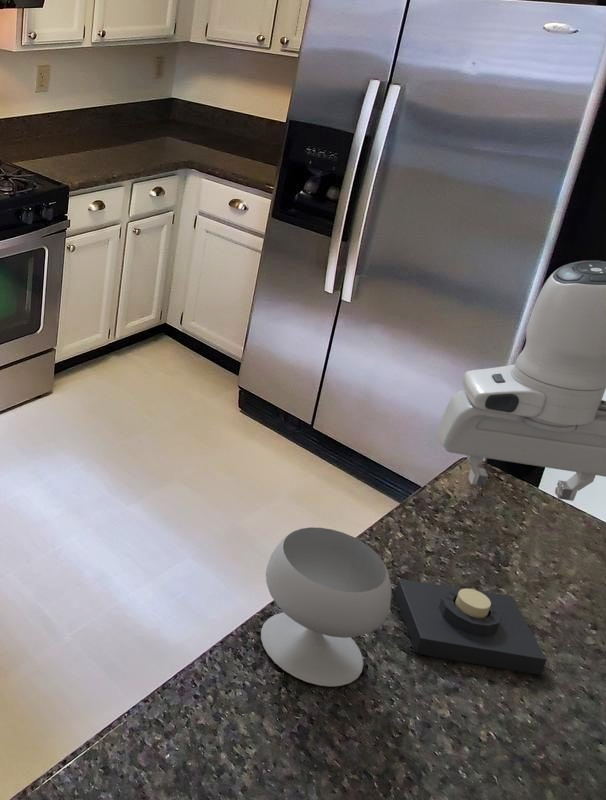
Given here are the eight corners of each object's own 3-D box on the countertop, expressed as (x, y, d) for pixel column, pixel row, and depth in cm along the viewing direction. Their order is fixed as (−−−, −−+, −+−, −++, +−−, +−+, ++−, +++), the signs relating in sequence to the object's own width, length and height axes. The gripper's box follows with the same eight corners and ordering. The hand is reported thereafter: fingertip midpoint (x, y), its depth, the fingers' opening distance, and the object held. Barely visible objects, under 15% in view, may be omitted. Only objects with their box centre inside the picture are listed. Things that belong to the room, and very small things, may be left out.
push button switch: (481, 601, 104) (485, 590, 104) (491, 621, 101) (495, 610, 101) (451, 596, 105) (454, 586, 104) (460, 616, 102) (463, 605, 101)
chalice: (290, 593, 111) (310, 507, 105) (391, 657, 101) (420, 565, 95) (231, 641, 104) (249, 551, 97) (334, 715, 93) (361, 619, 87)
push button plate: (506, 611, 108) (516, 585, 106) (540, 675, 98) (551, 648, 97) (394, 593, 111) (401, 568, 109) (415, 653, 102) (424, 627, 100)
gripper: (647, 395, 94) (608, 491, 99) (450, 369, 100) (424, 461, 106) (672, 422, 88) (629, 522, 94) (461, 393, 95) (433, 489, 100)
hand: (519, 489), depth 100 cm, fingers open, 8 cm apart
